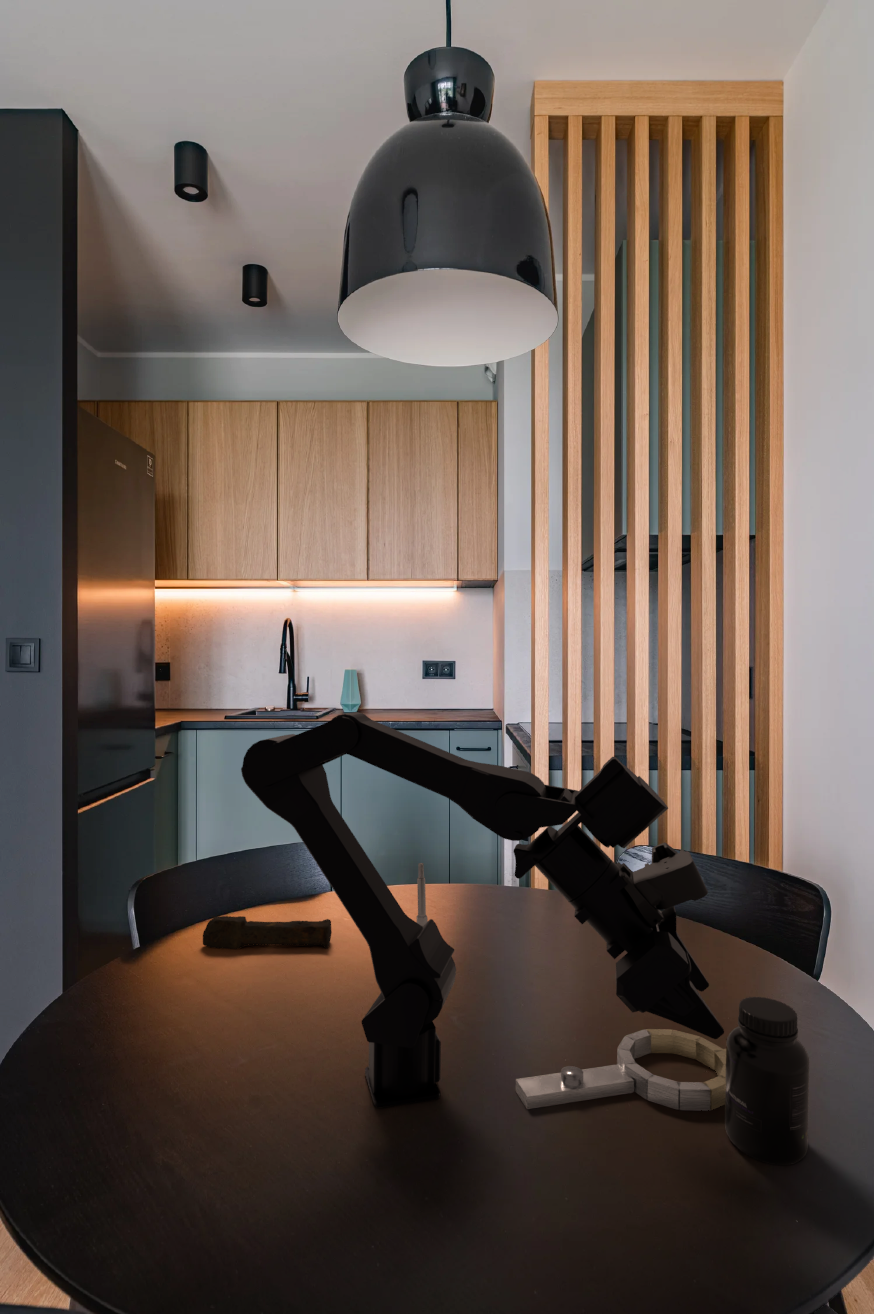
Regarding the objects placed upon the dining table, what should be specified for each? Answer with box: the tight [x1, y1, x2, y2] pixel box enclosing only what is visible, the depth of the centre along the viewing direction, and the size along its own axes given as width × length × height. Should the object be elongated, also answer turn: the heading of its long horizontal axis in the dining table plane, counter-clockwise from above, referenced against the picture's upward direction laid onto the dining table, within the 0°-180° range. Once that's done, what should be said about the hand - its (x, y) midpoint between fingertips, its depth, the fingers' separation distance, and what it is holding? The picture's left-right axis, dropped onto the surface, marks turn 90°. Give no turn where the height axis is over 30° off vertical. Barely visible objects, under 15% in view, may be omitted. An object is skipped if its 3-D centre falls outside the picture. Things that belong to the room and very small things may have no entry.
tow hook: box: [416, 862, 429, 927], centre depth 109 cm, size 8×13×9 cm
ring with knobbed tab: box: [645, 1028, 726, 1111], centre depth 76 cm, size 13×12×2 cm
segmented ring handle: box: [515, 1029, 711, 1112], centre depth 73 cm, size 17×12×2 cm
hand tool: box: [202, 915, 333, 950], centre depth 108 cm, size 19×4×5 cm, turn 91°
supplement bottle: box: [724, 996, 810, 1166], centre depth 65 cm, size 7×7×12 cm
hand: (712, 1010), depth 66 cm, fingers open, 9 cm apart
